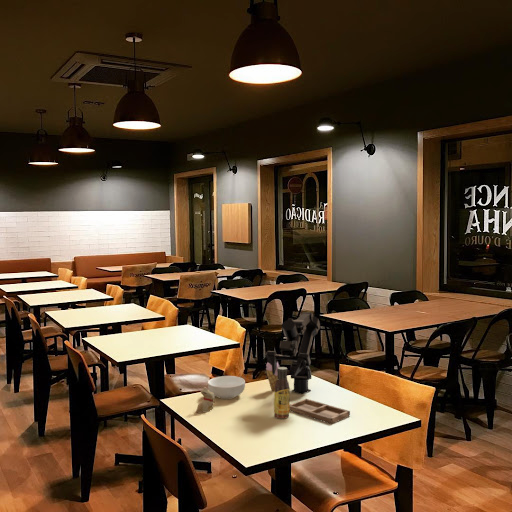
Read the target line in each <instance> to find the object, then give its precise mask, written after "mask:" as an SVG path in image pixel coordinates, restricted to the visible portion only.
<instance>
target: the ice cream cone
mask: <svg viewBox="0 0 512 512" xmlns="http://www.w3.org/2000/svg"><path fill="white" fill-rule="evenodd" d="M265 367H266V368H265V370H266V375H267V376H266V377H267V380H268V383H269V386H270V389H271V391H272V392H274V391H275V383H276V381H277V380H278V371H277V368H278V367H281V366H280V364H279V361H278V362H277V367H276V371H275V374H274V375H273V373H272V365H271V364H270V363H268V362H267V363H266V366H265Z"/></svg>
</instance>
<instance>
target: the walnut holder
mask: <svg viewBox="0 0 512 512" xmlns="http://www.w3.org/2000/svg"><path fill="white" fill-rule="evenodd" d="M289 412H291V413H295V414H298V415H302V416H304V417H308V418H311V419H314V418H315V420H317V419H318V420H317V421H320V420H322V421H321V422H323V421H325V422H324V423H327V422H328V423H327V424H330V423H331V424H330V425H332V424H335V423H336V421H337V422H339V421H342V420H344V419H346V418H348V417H347V416H349V415H350V416H351V410H348V409H343V408H342V407H341V408H340V407H337V406H334V405H329V404H326V403H323V402H319V401H316V400H312V399H310V398H304V399H301V400H299V401H297V402H293V403H291V404H290V410H289ZM350 416H349V417H350ZM345 417H346V418H345ZM343 418H344V419H343ZM341 419H342V420H341ZM338 420H339V421H338ZM334 422H335V423H334Z"/></svg>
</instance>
